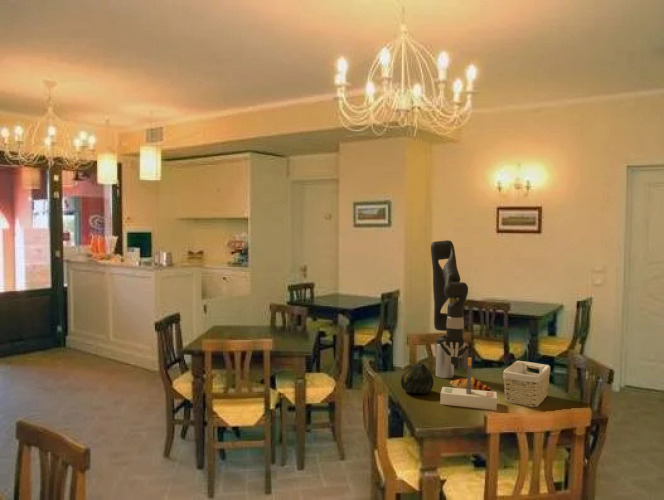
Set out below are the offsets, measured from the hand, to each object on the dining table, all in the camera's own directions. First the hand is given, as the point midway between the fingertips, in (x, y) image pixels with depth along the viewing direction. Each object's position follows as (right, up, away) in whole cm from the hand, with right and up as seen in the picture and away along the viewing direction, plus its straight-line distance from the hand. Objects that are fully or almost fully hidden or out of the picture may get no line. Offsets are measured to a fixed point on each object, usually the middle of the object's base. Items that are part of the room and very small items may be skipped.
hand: (454, 364), depth 245 cm
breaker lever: (+6, -12, -1) cm, 13 cm away
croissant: (+12, -17, +19) cm, 28 cm away
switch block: (+8, -17, +4) cm, 19 cm away
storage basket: (+35, -18, +7) cm, 40 cm away
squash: (-14, -16, +14) cm, 26 cm away
